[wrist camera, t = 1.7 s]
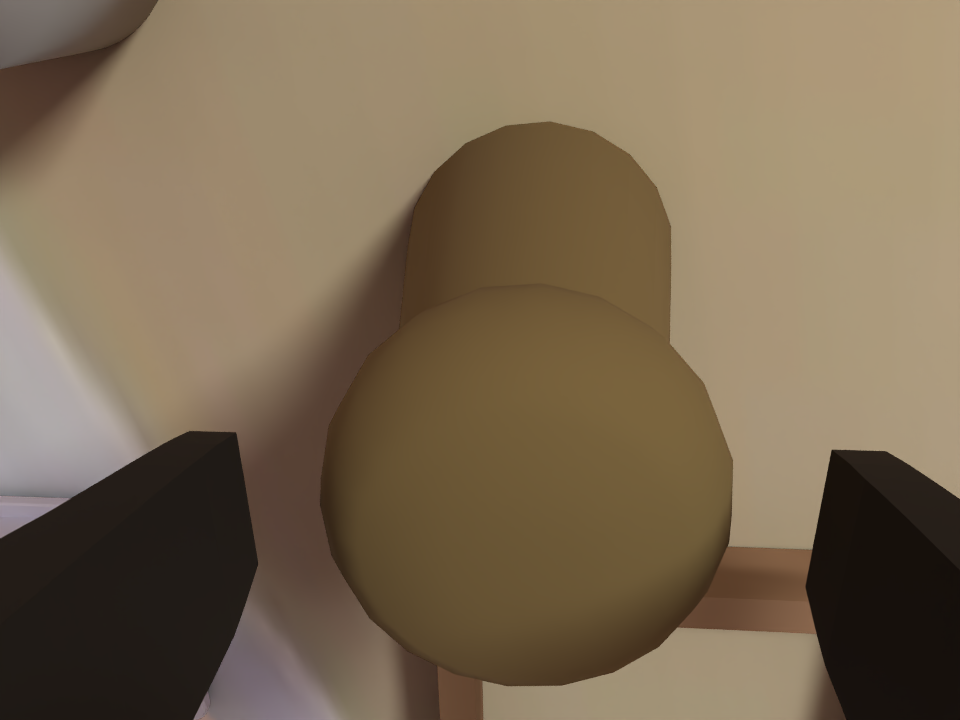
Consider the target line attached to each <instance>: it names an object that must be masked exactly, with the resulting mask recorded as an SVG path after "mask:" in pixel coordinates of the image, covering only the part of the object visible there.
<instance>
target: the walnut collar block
mask: <svg viewBox="0 0 960 720" xmlns="http://www.w3.org/2000/svg"><path fill="white" fill-rule="evenodd" d="M811 555H812V550H797V549H770V548H744V547H727V548H726V551H725V553H724V555H723V558H722V560H721V562H720V564H719V567H718V569H717V571H716V574H715V576H714V578H713V581H712V583H711V585H710V588H709V590H708V592H707V593H706V594H705V596H704V597H703V598H702V600H701V601H700V602H699V603H698V605H697V606H696V607H695V609H694V610H693V611H692V612H691V613H690V614H689V615H688V616H687V618H686V619H685V620H684V621H683V622H682V623H681V624H680V625H679V626H678V627H681V628H703V629H725V630H747V631H768V632H790V633H812V634H817V633H816V630H815V626H814V621H813V617H812V613H811V609H810V605H809V601H808V596H807V592H806V588H805V585H806V580H807V575H808V570H809V565H810V560H811ZM437 672H438V691H439V710H440V720H483V689H482V680H478V679H473V678H469V677H464V676H460V675H455V674H453V673H451V672H449V671H447V670H445V669H443V668H441V667H439V666H437Z"/></svg>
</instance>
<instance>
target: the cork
mask: <svg viewBox="0 0 960 720" xmlns="http://www.w3.org/2000/svg"><path fill="white" fill-rule="evenodd" d="M670 299H671V226H670V223H669V220H668V217H667V214H666V212H665V209H664V206H663V203H662V201H661V198H660V195H659V192H658V189H657V187H656V186H655V185H654V183H653V182H652V181H651V180H650V179H649V177H648V176H647V175H646V174H645V172H644V171H643V170H642V169H641V167H640V166H639V165H638V164H637V163H636V161H635V160H634V159H633V158H632V156H631V155H630V154H628V153H627V152H625V151H623V150H622V149H620V148H619V147H617V146H615V145H614V144H612V143H611V142H609V141H607V140H606V139H604V138H602V137H601V136H599V135H598V134H596V133H594V132H592V131H588V130H584V129H579V128H575V127H571V126H567V125H562V124H558V123H554V122H541V123H530V124H519V125H509V126H504V127H502V128H500V129H497V130H495V131H493V132H490V133H488V134H486V135H484V136H481V137H479V138H477V139H475V140H472V141H470V142H468V143H466V144H465V145H463V146H462V147H461V148H460V149H459V150H458V151H457V152H456V153H455V154H454V155H452V156H451V157H450V158H449V159H448V160H447V161H446V162H445V163H444V164H443V165H441V166H440V167H439V168H438V169H437V170H436V171H435V172H434V174H433V175H432V177H431V179H430V181H429V183H428V184H427V186H426V188H425V190H424V192H423V193H422V195H421V197H420V199H419V201H418V203H417V204H416V206H415V209H414V214H413V220H412V225H411V231H410V236H409V242H408V248H407V258H406V267H405V277H404V287H403V297H402V306H401V316H400V326H399V330H398V331H397V332H396V333H394V334H393V335H392V336H391V337H390V338H388V339H387V340H386V341H385V342H384V343H382V344H381V345H380V346H379V347H378V348H376V349H375V350H374V351H373V352H372V353H370V354H369V355H368V357H367V358H366V360H365V362H364V364H363V365H362V367H361V369H360V371H359V372H358V374H357V376H356V377H355V379H354V381H353V383H352V384H351V386H350V388H349V390H348V391H347V393H346V395H345V396H344V398H343V400H342V402H341V403H340V405H339V407H338V409H337V411H336V413H335V415H334V417H333V419H332V421H331V422H330V424H329V428H328V435H327V442H326V448H325V455H324V462H323V468H322V475H321V493H320V506H321V511H322V515H323V520H324V524H325V528H326V533H327V537H328V542H329V546H330V551H331V555H332V557H333V559H334V561H335V562H336V564H337V566H338V568H339V570H340V571H341V573H342V575H343V577H344V578H345V580H346V582H347V583H348V585H349V586H350V588H351V589H352V591H353V593H354V594H355V596H356V597H357V599H358V601H359V602H360V604H361V605H362V607H363V609H364V610H365V612H366V613H367V615H368V617H369V618H370V619H371V620H372V621H373V622H374V623H376V624H377V625H378V626H379V627H380V628H381V629H383V630H384V631H385V632H386V633H387V634H388V635H389V636H391V637H392V638H393V639H394V640H395V641H396V642H398V643H399V644H400V645H401V646H402V647H403V648H405V649H406V650H407V651H408V652H410V653H412V654H414V655H416V656H418V657H420V658H422V659H424V660H426V661H429V662H431V663H433V664H435V665H437V666H439V667H441V668H443V669H445V670H447V671H449V672H451V673H453V674H455V675H460V676H464V677H469V678H473V679H478V680H482V681H487V682H491V683H496V684H500V685H505V686H562V685H566V684H570V683H574V682H578V681H582V680H586V679H589V678H593V677H597V676H601V675H605V674H609V673H613V672H615V671H617V670H619V669H620V668H622V667H624V666H626V665H628V664H629V663H631V662H633V661H635V660H636V659H638V658H640V657H642V656H644V655H645V654H647V653H649V652H651V651H652V650H654V649H656V648H658V647H659V646H660V645H661V644H662V643H663V642H664V641H665V640H666V639H667V638H668V637H669V636H670V634H671V633H672V632H673V631H674V630H675V629H676V628H677V627H678V626H679V625H680V624H681V623H682V622H683V621H684V620H685V619H686V618H687V616H688V615H689V614H690V613H691V612H692V611H693V610H694V609H695V607H696V606H697V605H698V603H699V602H700V601H701V600H702V598H703V597H704V596H705V594H706V593H707V592H708V590H709V588H710V585H711V583H712V581H713V578H714V576H715V574H716V571H717V569H718V567H719V564H720V562H721V560H722V558H723V555H724V553H725V551H726V548H727V546H728V544H729V537H730V527H731V516H732V481H733V459H732V457H731V454H730V451H729V449H728V446H727V443H726V440H725V438H724V435H723V432H722V430H721V427H720V424H719V422H718V419H717V416H716V414H715V411H714V408H713V405H712V403H711V400H710V398H709V395H708V393H707V390H706V387H705V385H704V383H703V382H702V380H701V379H700V378H699V377H698V376H697V375H696V373H695V372H694V371H693V370H692V369H691V368H690V367H689V365H688V364H687V363H686V362H685V361H684V360H683V358H682V357H681V356H680V355H679V354H678V353H677V352H676V350H675V349H674V348H673V347H672V346H671V345H670Z"/></svg>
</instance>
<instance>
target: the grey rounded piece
mask: <svg viewBox="0 0 960 720" xmlns="http://www.w3.org/2000/svg"><path fill="white" fill-rule="evenodd" d="M157 1H158V0H0V69H3V68H9V67H14V66H19V65H24V64H29V63H34V62H39V61H44V60H49V59H54V58H60V57H65V56H70V55H75V54H80V53H85V52H90V51H95V50H99V49H103V48H106V47H108V46H111V45H113V44H116V43H118V42H119V41H121V40H123V39H124V38H126V37H127V36H129V35H130V34H131V33H133V32H134V31H135V30H136V29H137V28H138V27H139V26H140V25H141V24H142V23H143V22H144V21H145V19H146V18H147V17H148V16H149V15H150V13H151V11H152V10H153V8H154V6H155V5H156V3H157Z"/></svg>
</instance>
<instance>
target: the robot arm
mask: <svg viewBox="0 0 960 720" xmlns="http://www.w3.org/2000/svg"><path fill="white" fill-rule="evenodd" d="M257 566H258V560H257V554H256V548H255V542H254V536H253V530H252V524H251V518H250V512H249V506H248V500H247V494H246V488H245V482H244V476H243V470H242V464H241V458H240V452H239V446H238V440H237V434H236V432H201V431H189V432H186V433H184V434H182V435H180V436H178V437H176V438H174V439H172V440H170V441H168V442H166V443H164V444H163V445H161V446H159V447H157V448H155V449H154V450H152V451H150V452H148V453H147V454H145V455H143V456H142V457H140V458H138V459H136V460H135V461H133V462H131V463H130V464H128V465H126V466H125V467H123V468H121V469H120V470H118V471H116V472H115V473H113V474H111V475H110V476H108V477H106V478H105V479H103V480H101V481H99V482H98V483H96V484H94V485H93V486H91V487H89V488H88V489H86V490H84V491H83V492H81V493H79V494H78V495H76V496H74V497H72V498H46V497H18V496H0V720H198V719H201V718H203V717H204V716H205V715H206V713H207V711H208V709H209V707H210V699H209V694H208V689H209V687H210V685H211V683H212V681H213V679H214V677H215V675H216V673H217V671H218V669H219V667H220V664H221V662H222V660H223V658H224V656H225V654H226V652H227V650H228V648H229V646H230V644H231V641H232V639H233V637H234V635H235V632H236V629H237V627H238V624H239V621H240V618H241V615H242V612H243V609H244V607H245V604H246V601H247V598H248V594H249V591H250V588H251V585H252V582H253V579H254V575H255V572H256V569H257ZM805 588H806V592H807V596H808V601H809V605H810V609H811V613H812V617H813V621H814V626H815V630H816V633H817V637H818V641H819V645H820V648H821V652H822V656H823V659H824V663H825V666H826V669H827V671H828V674H829V676H830V679H831V682H832V684H833V687H834V689H835V692H836V694H837V697H838V699H839V702H840V704H841V707H842V709H843V712H844V714H845V717H846V719H847V720H960V499H959V498H957V497H956V496H954V495H953V494H952V493H950V492H949V491H947V490H946V489H944V488H943V487H941V486H940V485H938V484H937V483H935V482H934V481H932V480H931V479H930V478H928V477H927V476H925V475H924V474H922V473H921V472H919V471H918V470H916V469H914V468H913V467H911V466H910V465H908V464H907V463H905V462H903V461H902V460H900V459H898V458H897V457H895V456H893V455H891V454H890V453H888V452H886V451H857V450H832V451H831V456H830V462H829V467H828V472H827V477H826V482H825V487H824V493H823V498H822V503H821V508H820V513H819V518H818V524H817V529H816V534H815V539H814V544H813V549H812V555H811V560H810V565H809V570H808V575H807V580H806V585H805Z"/></svg>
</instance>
